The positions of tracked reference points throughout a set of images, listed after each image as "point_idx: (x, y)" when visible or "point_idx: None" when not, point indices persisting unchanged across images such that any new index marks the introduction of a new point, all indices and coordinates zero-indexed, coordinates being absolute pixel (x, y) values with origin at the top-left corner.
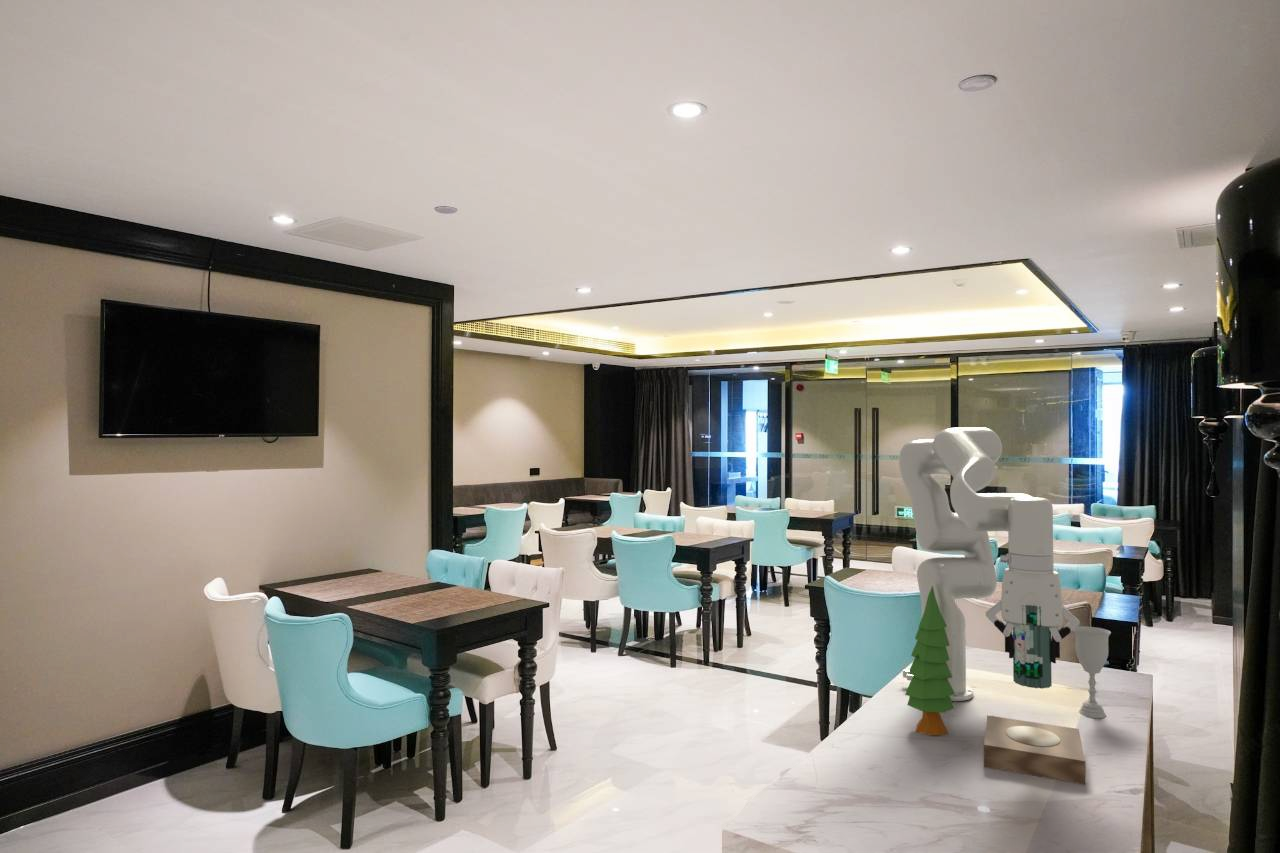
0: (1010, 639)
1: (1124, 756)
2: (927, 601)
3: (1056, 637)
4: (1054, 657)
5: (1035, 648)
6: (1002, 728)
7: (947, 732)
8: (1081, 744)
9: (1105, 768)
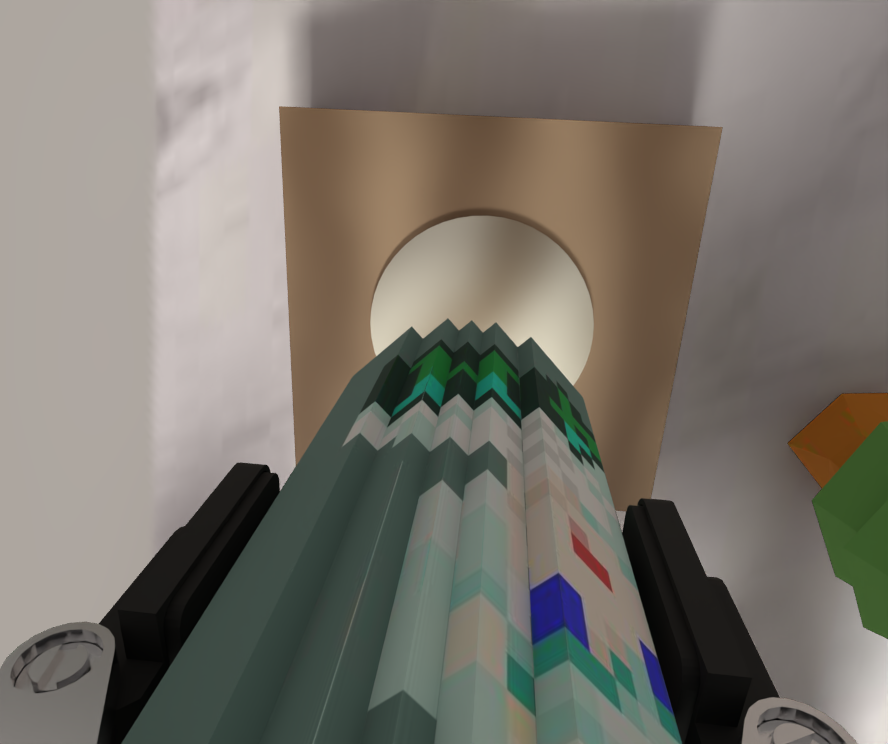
0: (718, 647)
1: (184, 436)
2: None
3: (66, 676)
4: (228, 491)
5: (396, 476)
6: (601, 378)
7: (793, 440)
8: (290, 310)
9: (242, 304)
